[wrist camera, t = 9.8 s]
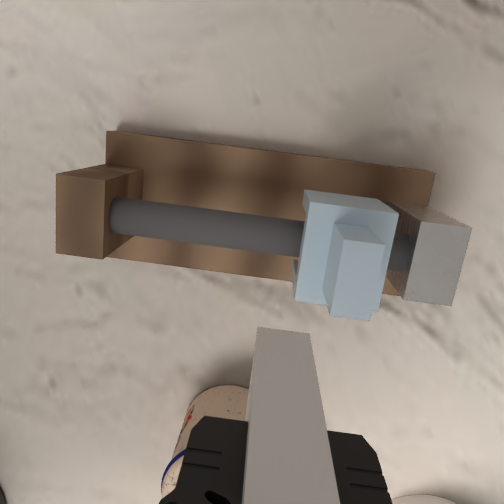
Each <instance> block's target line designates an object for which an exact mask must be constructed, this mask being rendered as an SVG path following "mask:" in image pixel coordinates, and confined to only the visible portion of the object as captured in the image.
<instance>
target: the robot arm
mask: <svg viewBox="0 0 504 504" xmlns="http://www.w3.org/2000/svg"><path fill="white" fill-rule="evenodd" d="M387 489H388V488H387V485H386V482H385V479H384V476H382V469H381V466H380V463H379V460H378V457H377V454H376V452H375V451H374V450H373V448H372V447H371V446H370V445H369V444H368V442H367V441H366V440H365V439H364V438H363V436H362V435H357V434H349V433H342V432H334V431H327V428H326V423H325V417H324V412H323V406H322V401H321V395H320V390H319V384H318V379H317V373H316V368H315V362H314V357H313V351H312V346H311V340H310V335H309V334H308V333H300V332H293V331H285V330H278V329H270V328H263V327H257V335H256V342H255V349H254V357H253V364H252V371H251V378H250V386H249V393H248V400H247V408H246V418H245V421H241V420H233V419H226V418H219V417H211V416H204V417H203V418H202V419H201V420H200V421H199V422H198V423H197V424H196V425H195V426H194V427H193V428H192V429H191V432H190V436H189V439H188V443H187V446H186V451H185V454H184V457H183V461H182V466H181V468H180V472H179V476H178V479H177V483H176V487H175V489H174V490H173V491H171V492H170V493H169V494H167V495H166V496H165V497H164V498H162V499H161V501H160V502H159V504H392V500H391V497H390V494H389V493H388V492H387ZM0 504H6V503H5V499H4V496H3V494H2V491H1V489H0Z"/></svg>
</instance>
